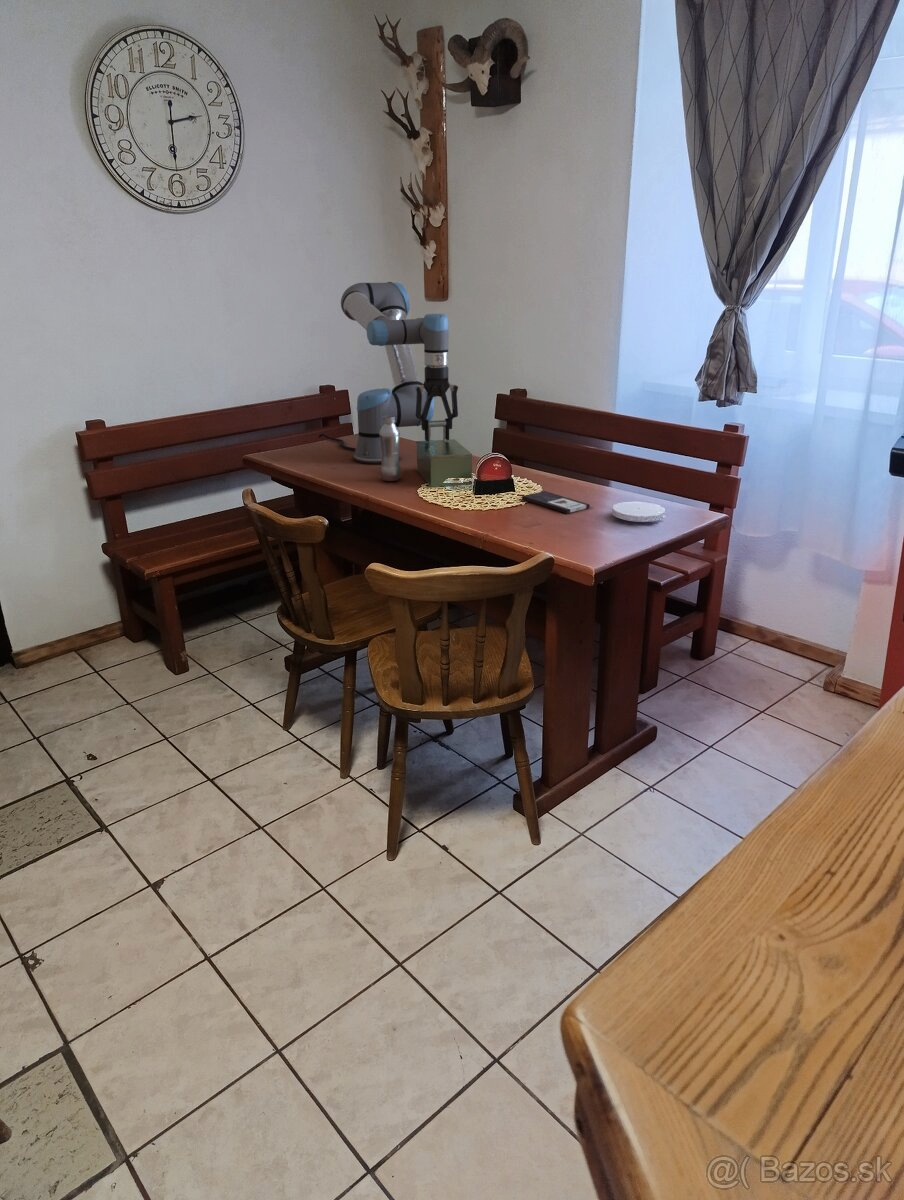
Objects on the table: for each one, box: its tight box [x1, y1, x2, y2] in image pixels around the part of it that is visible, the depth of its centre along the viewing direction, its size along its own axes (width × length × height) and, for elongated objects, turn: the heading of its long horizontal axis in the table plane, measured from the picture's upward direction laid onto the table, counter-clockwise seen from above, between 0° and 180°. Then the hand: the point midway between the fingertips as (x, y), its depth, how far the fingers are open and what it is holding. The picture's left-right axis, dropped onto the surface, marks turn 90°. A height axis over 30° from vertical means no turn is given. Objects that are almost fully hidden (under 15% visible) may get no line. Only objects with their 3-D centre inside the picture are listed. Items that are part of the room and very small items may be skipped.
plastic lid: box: [611, 501, 667, 523], centre depth 218 cm, size 14×14×2 cm
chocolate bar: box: [521, 490, 590, 514], centre depth 231 cm, size 9×1×18 cm
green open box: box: [416, 444, 473, 488], centre depth 257 cm, size 21×13×9 cm, turn 14°
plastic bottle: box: [379, 415, 402, 482], centre depth 251 cm, size 6×7×20 cm
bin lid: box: [415, 419, 473, 459], centre depth 254 cm, size 22×13×8 cm, turn 14°
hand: (437, 439), depth 263 cm, fingers open, 6 cm apart
